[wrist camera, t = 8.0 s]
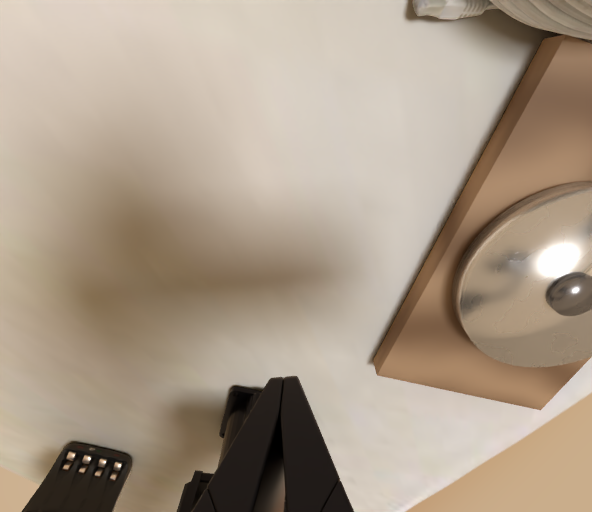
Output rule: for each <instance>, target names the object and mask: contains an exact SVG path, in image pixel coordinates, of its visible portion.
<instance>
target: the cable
mask: <svg viewBox="0 0 592 512" xmlns="http://www.w3.org/2000/svg"><path fill="white" fill-rule="evenodd" d="M412 5H413V8H414V10H415V13H416V15H417V16H425V15H429V16H434V17H437V18H439V19H451V20H456V19H458V18H464V17H471V16H479V15H481V14H482V13H483V12H484V10H489V9H500V10H502V11H503V12H505V13H506V14H508V15H509V16H511V17H512V18H514V19H516V20H518V21H520V22H522V23H524V24H527V25H529V26H532V27H535V28H538V29H542V30H547V31H552V32H556V33H560V34H564V35H569V36H573V37H577V38H583V39H589V40H592V0H413V2H412Z"/></svg>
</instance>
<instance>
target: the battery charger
mask: <svg viewBox="0 0 592 512" xmlns="http://www.w3.org/2000/svg"><path fill="white" fill-rule="evenodd" d="M131 471H132V461H131V459H130V457H129V456H127V455H125V454H123V453H119V452H116V451H112V450H108V449H104V448H99V447H95V446H90V445H85V444H78V443H71V444H68V445H67V446H66V447H65V448H64V449H63V451H62V452H61V454H60V455H59V457H58V458H57V460H56V462H55V463H54V465H53V467H52V468H51V470H50V472H49V473H48V475H47V476H46V478H45V479H44V481H43V482H42V484H41V485H40V487H39V488H38V490H37V491H36V492H35V494H34V495H33V496H32V498H31V499H30V501H29V502H28V504H27V505H26V506H25V508H24V509H23V510H22V512H114V509H115V507H116V504H117V502H118V500H119V497H120V495H121V493H122V490H123V488H124V486H125V484H126V482H127V480H128V478H129V475H130V473H131Z"/></svg>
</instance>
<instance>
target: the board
mask: <svg viewBox="0 0 592 512" xmlns="http://www.w3.org/2000/svg"><path fill="white" fill-rule="evenodd" d="M587 181H592V44H591V43H589V42H586V41H583V40H580V39H578V38H575V37H572V36H569V35H560V36H555V37H551V38H546V39H543V41H542V43H541V45H540V47H539V49H538V50H537V52H536V54H535V56H534V58H533V60H532V62H531V64H530V65H529V67H528V69H527V71H526V73H525V75H524V77H523V79H522V81H521V82H520V84H519V86H518V88H517V90H516V92H515V94H514V96H513V97H512V99H511V101H510V103H509V105H508V107H507V109H506V111H505V113H504V114H503V116H502V118H501V120H500V122H499V124H498V126H497V128H496V129H495V131H494V133H493V135H492V137H491V139H490V141H489V143H488V145H487V146H486V148H485V150H484V152H483V154H482V156H481V158H480V160H479V162H478V163H477V165H476V167H475V169H474V171H473V173H472V175H471V177H470V178H469V180H468V182H467V184H466V186H465V188H464V190H463V192H462V194H461V195H460V197H459V199H458V201H457V203H456V205H455V207H454V209H453V210H452V212H451V214H450V216H449V218H448V220H447V222H446V224H445V226H444V227H443V229H442V231H441V233H440V235H439V237H438V239H437V241H436V242H435V244H434V246H433V248H432V250H431V252H430V254H429V256H428V258H427V259H426V261H425V263H424V265H423V267H422V269H421V271H420V273H419V275H418V276H417V278H416V280H415V282H414V284H413V286H412V288H411V290H410V291H409V293H408V295H407V297H406V299H405V301H404V303H403V305H402V307H401V308H400V310H399V312H398V314H397V316H396V318H395V320H394V322H393V323H392V325H391V327H390V329H389V331H388V333H387V335H386V337H385V339H384V340H383V342H382V344H381V346H380V348H379V350H378V352H377V354H376V355H375V357H374V359H373V362H374V366H375V369H376V373H377V375H379V376H383V377H388V378H393V379H397V380H402V381H407V382H411V383H416V384H421V385H425V386H430V387H435V388H440V389H444V390H449V391H454V392H458V393H463V394H468V395H472V396H477V397H482V398H486V399H491V400H496V401H500V402H505V403H510V404H514V405H519V406H524V407H528V408H533V409H538V410H541V409H542V408H543V407H544V406H545V405H546V404H547V403H548V402H549V401H550V400H551V399H552V398H553V397H554V396H555V395H556V393H557V392H558V391H559V390H560V389H561V388H562V387H563V386H564V385H565V384H566V383H567V382H568V381H569V380H570V379H571V378H572V377H573V376H574V375H575V374H576V373H577V372H578V371H579V369H580V368H581V367H582V366H583V365H584V364H585V363H586V362H587V361H588V360H589V359H590V358H591V357H592V356H591V357H589V358H586V359H583V360H579V361H576V362H572V363H568V364H563V365H558V366H550V367H521V366H515V365H510V364H506V363H503V362H500V361H498V360H495V359H493V358H491V357H490V356H488V355H486V354H485V353H483V352H482V351H481V350H480V349H478V348H477V347H476V345H475V344H474V343H473V342H472V341H471V339H470V338H469V336H468V335H467V333H466V332H465V330H464V329H463V327H462V326H461V324H460V323H459V321H458V319H457V317H456V315H455V312H454V309H453V303H452V286H453V280H454V276H455V273H456V270H457V267H458V265H459V263H460V261H461V259H462V257H463V255H464V254H465V252H466V251H467V249H468V247H469V246H470V244H471V243H472V242H473V241H474V240H475V238H476V237H477V236H478V235H479V233H480V232H481V231H482V230H483V229H484V228H485V227H486V226H487V225H488V224H489V223H491V222H492V221H493V220H494V219H496V218H497V217H498V216H499V215H500V214H502V213H503V212H505V211H506V210H508V209H509V208H511V207H512V206H514V205H515V204H517V203H519V202H521V201H522V200H524V199H526V198H528V197H530V196H532V195H535V194H537V193H539V192H542V191H544V190H547V189H550V188H554V187H557V186H560V185H565V184H570V183H575V182H587Z"/></svg>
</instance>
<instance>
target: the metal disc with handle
mask: <svg viewBox="0 0 592 512" xmlns="http://www.w3.org/2000/svg"><path fill="white" fill-rule="evenodd" d="M452 303H453V309H454V312H455V315H456V317H457V319H458V321H459V323H460V324H461V326H462V327H463V329H464V330H465V332H466V333H467V335H468V336H469V338H470V339H471V341H472V342H473V343H474V344H475V345H476V347H477V348H478V349H480V350H481V351H482V352H483V353H485V354H486V355H488V356H490V357H491V358H493V359H495V360H498V361H500V362H503V363H506V364H510V365H515V366H521V367H550V366H558V365H563V364H568V363H572V362H576V361H579V360H583V359H586V358H589V357H591V356H592V181H587V182H575V183H570V184H565V185H560V186H557V187H554V188H550V189H547V190H544V191H542V192H539V193H537V194H535V195H532V196H530V197H528V198H526V199H524V200H522V201H521V202H519V203H517V204H515V205H514V206H512V207H511V208H509V209H508V210H506V211H505V212H503V213H502V214H500V215H499V216H498V217H497V218H496V219H494V220H493V221H492V222H491V223H489V224H488V225H487V226H486V227H485V228H484V229H483V230H482V231H481V232H480V233H479V235H478V236H477V237H476V238H475V240H474V241H473V242H472V243H471V244H470V246H469V247H468V249H467V251H466V252H465V254H464V255H463V257H462V259H461V261H460V263H459V265H458V267H457V270H456V273H455V276H454V280H453V286H452Z"/></svg>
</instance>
